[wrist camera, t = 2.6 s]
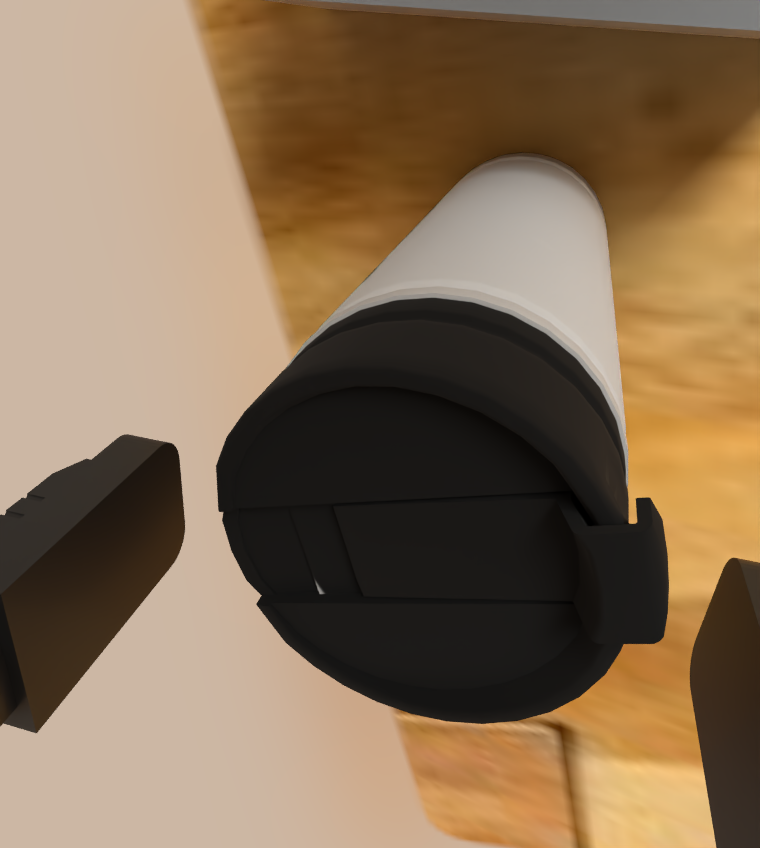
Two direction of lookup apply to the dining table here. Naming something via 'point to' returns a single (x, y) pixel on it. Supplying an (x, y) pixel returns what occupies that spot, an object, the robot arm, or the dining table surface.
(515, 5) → the crate
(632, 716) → the dining table surface
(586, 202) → the travel mug
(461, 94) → the dining table surface
